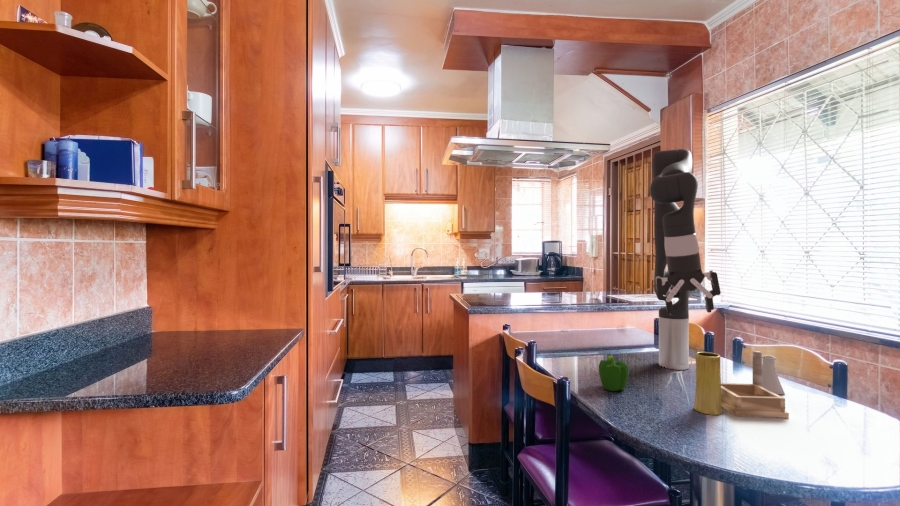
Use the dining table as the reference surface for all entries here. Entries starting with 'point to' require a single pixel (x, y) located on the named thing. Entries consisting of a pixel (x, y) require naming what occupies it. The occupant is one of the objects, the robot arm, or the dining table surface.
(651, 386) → the dining table surface
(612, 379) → the bell pepper
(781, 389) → the flask
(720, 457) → the dining table surface
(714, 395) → the vase
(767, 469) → the dining table surface
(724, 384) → the stand
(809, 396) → the dining table surface
